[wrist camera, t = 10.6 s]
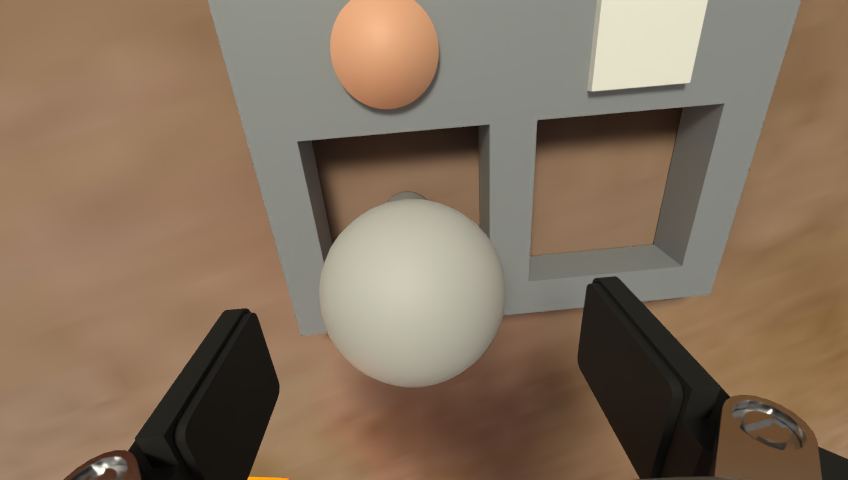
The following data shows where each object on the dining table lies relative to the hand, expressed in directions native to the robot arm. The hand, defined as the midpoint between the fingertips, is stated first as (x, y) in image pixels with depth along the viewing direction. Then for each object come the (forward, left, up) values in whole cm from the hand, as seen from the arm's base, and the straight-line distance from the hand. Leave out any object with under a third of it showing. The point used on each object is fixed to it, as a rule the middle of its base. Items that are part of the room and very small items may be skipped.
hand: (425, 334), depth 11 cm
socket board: (-5, -2, -10) cm, 11 cm away
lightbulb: (0, 0, -10) cm, 10 cm away
